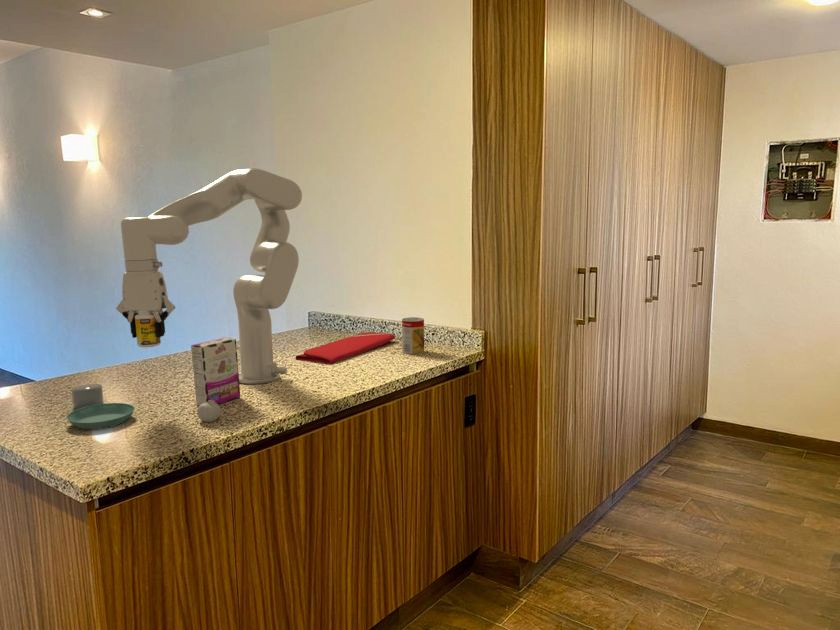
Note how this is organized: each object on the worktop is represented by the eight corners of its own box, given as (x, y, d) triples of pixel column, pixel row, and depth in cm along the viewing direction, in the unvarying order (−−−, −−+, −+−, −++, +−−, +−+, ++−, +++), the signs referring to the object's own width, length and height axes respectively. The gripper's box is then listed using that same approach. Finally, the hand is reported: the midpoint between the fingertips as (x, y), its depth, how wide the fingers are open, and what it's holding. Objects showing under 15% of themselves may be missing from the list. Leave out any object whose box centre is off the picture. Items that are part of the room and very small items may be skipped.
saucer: (59, 436, 141) (58, 424, 140) (76, 415, 155) (75, 405, 154) (130, 429, 145) (129, 418, 144) (140, 410, 159) (139, 400, 158)
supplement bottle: (139, 349, 156) (135, 309, 154) (136, 345, 160) (131, 306, 159) (163, 346, 159) (159, 306, 157) (158, 342, 163) (155, 304, 162)
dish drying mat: (294, 361, 212) (293, 350, 211) (363, 339, 247) (363, 330, 246) (330, 366, 204) (330, 355, 204) (396, 343, 239) (396, 333, 239)
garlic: (226, 420, 150) (225, 399, 149) (205, 426, 146) (204, 404, 145) (213, 415, 153) (212, 394, 153) (193, 420, 149) (191, 399, 149)
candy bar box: (228, 395, 171) (224, 336, 168) (241, 397, 168) (237, 338, 165) (194, 405, 161) (190, 344, 159) (207, 408, 159) (203, 346, 156)
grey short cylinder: (109, 402, 165) (107, 384, 165) (93, 410, 158) (91, 391, 158) (84, 401, 166) (82, 383, 165) (67, 410, 159) (65, 391, 158)
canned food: (428, 351, 222) (428, 318, 220) (416, 355, 216) (416, 321, 214) (410, 348, 226) (409, 316, 224) (398, 353, 220) (397, 319, 218)
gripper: (181, 264, 159) (187, 333, 162) (117, 265, 160) (124, 333, 164) (167, 267, 152) (173, 339, 155) (100, 268, 153) (108, 339, 156)
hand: (148, 335), depth 159 cm, fingers closed on supplement bottle, 5 cm apart
